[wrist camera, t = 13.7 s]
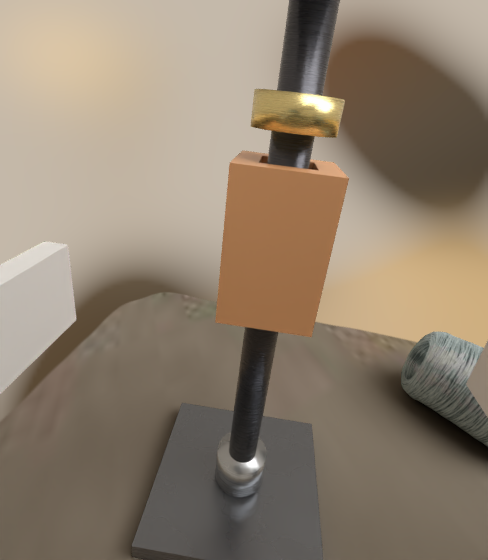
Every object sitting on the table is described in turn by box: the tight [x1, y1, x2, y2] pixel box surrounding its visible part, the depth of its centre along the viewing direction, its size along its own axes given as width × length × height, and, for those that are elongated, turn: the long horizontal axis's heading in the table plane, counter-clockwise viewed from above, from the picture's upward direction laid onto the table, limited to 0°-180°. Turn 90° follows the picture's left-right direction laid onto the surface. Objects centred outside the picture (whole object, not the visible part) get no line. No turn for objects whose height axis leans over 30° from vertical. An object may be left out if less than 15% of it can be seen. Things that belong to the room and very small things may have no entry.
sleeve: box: [215, 151, 349, 337], centre depth 19 cm, size 5×5×8 cm
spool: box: [401, 332, 488, 447], centre depth 35 cm, size 14×10×10 cm
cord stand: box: [132, 0, 345, 560], centre depth 19 cm, size 12×12×39 cm
